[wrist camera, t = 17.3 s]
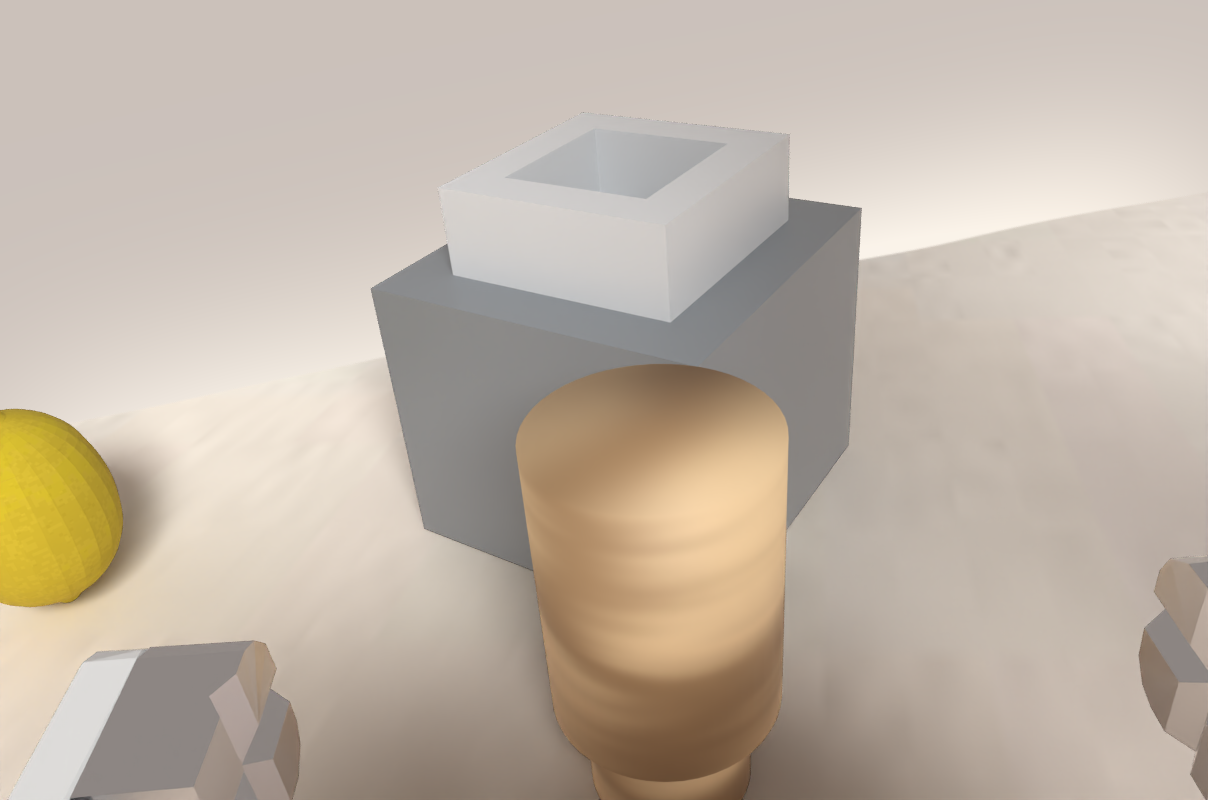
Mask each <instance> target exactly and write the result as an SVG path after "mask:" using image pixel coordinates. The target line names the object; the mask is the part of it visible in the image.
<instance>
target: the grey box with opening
mask: <svg viewBox="0 0 1208 800" xmlns="http://www.w3.org/2000/svg"><path fill="white" fill-rule="evenodd" d="M789 139H790V135H789V134H782V133H772V132H763V131H754V130H744V129H734V128H725V127H716V126H707V125H697V124H687V123H678V122H669V121H659V120H650V119H641V118H631V117H622V116H613V115H603V114H593V113H584V112H583V113H581V114H579V115H577V116H575V117H573V118H571V119H569V120H567V121H565V122H563V123H562V124H559V125H557V126H556V127H554V128H552V129H550V130H548V131H546V132H544V133H542V134H540V135H538V136H536V137H534V138H532V139H531V140H529V141H527V142H525V143H523V144H521V145H519V146H517V147H515V148H513V149H511V150H509V151H507V152H505V153H504V154H502V155H500V156H498V157H496V158H494V159H492V160H490V161H488V162H486V163H484V164H482V165H481V166H478V167H477V168H475V169H473V170H471V171H469V172H467V173H465V174H463V175H461V176H459V177H457V178H455V179H453V180H452V181H450V182H448V183H446V184H444V185H442V186H440V187H438V192H439V198H440V204H441V210H442V215H443V220H444V226H445V232H446V238H447V244H446V245H444V246H443V247H441V248H440V249H438V250H436V251H434V252H432V253H431V254H429V255H427V256H426V257H424V258H422V259H421V260H419V261H417V262H415V263H414V264H412V265H410V266H408V267H407V268H405V269H403V270H402V271H400V272H398V273H396V274H395V275H393V276H391V277H390V278H388V279H386V280H385V281H383V282H381V283H379V284H378V285H376V286H374V287H372V288H371V292H372V297H373V301H374V306H375V310H376V314H377V319H378V324H379V328H380V332H381V337H382V341H383V346H384V350H385V355H386V359H387V364H388V368H389V373H390V377H391V382H392V386H393V390H394V395H395V399H396V404H397V408H398V413H399V417H400V422H401V426H402V431H403V435H404V440H405V444H406V448H407V453H408V457H409V462H410V466H411V471H412V475H413V480H414V484H415V489H416V493H417V498H418V502H419V506H420V511H421V515H422V520H423V524H424V529H427V530H430V531H432V532H435V533H437V534H440V535H442V536H445V537H448V538H450V539H453V540H455V541H458V542H461V543H463V544H466V545H468V546H471V547H473V548H476V549H479V550H481V551H484V552H486V553H489V554H492V555H494V556H497V557H499V558H502V559H504V560H507V561H510V562H512V563H515V564H517V565H520V566H522V567H525V568H528V569H530V570H533V564H532V558H531V551H530V544H529V537H528V530H527V523H526V516H525V510H524V503H523V496H522V489H521V482H520V475H519V469H518V462H517V455H516V447H515V445H516V436H517V433H518V430H519V427H520V425H521V424H522V422H523V420H524V418H525V417H526V416H527V414H528V413H529V412H530V411H531V409H532V408H533V407H534V406H535V405H537V404H538V403H539V402H540V401H541V400H542V399H543V398H545V397H546V396H548V395H549V394H550V393H552V392H553V391H555V390H557V389H559V388H560V387H562V386H564V385H566V384H568V383H571V382H573V381H575V380H577V379H580V378H583V377H585V376H588V375H591V374H594V373H598V372H602V371H605V370H610V369H615V368H620V367H626V366H634V365H645V364H679V365H689V366H697V367H703V368H707V369H712V370H716V371H720V372H723V373H727V374H730V375H732V376H735V377H737V378H740V379H742V380H744V381H746V382H748V383H750V384H752V385H754V386H755V387H757V388H758V389H760V390H761V391H763V392H764V393H766V394H767V395H768V396H769V397H770V398H771V399H772V400H773V401H774V402H775V403H776V404H777V406H778V407H779V408H780V409H781V411H782V413H783V415H784V417H785V419H786V422H787V426H788V436H789V441H788V480H787V520H786V530H787V529H788V527H789V526H790V525H791V523H792V522H793V520H794V519H795V518H796V516H797V515H798V514H799V512H800V511H801V509H802V508H803V507H804V505H805V504H806V503H807V501H808V500H809V498H810V497H811V496H812V494H813V493H814V492H815V490H816V489H817V487H818V486H819V485H820V483H821V482H822V481H823V479H824V478H825V476H826V475H827V474H828V472H829V471H830V470H831V468H832V467H833V465H834V464H835V463H836V461H837V460H838V459H839V457H840V456H841V454H842V453H843V452H844V450H845V449H846V448H847V446H848V445H849V427H850V409H851V391H852V373H853V355H854V337H855V319H856V301H857V283H858V265H859V247H860V229H861V211H862V210H861V209H862V208H857V207H850V206H843V205H835V204H828V203H821V202H814V201H807V200H800V199H793V198H789V141H790V140H789Z"/></svg>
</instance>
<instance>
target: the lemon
mask: <svg viewBox="0 0 1208 800" xmlns="http://www.w3.org/2000/svg"><path fill="white" fill-rule="evenodd" d="M122 528H123V514H122V508H121V503H120V498H119V494H118V491H117V487H116V484H115V482H114V479H113V477H112V475H111V473H110V471H109V469H108V467H107V465H106V464H105V462H104V461H103V459H102V458H101V456H100V455H99V454H98V452H97V451H96V450H95V449H94V447H93V446H92V445H91V444H90V443H89V442H88V441H87V440H86V439H85V438H84V437H83V436H82V435H81V434H80V433H79V432H78V431H77V430H76V429H75V428H74V427H72V426H71V425H70V424H68V423H66V422H65V421H63V420H61V419H58V418H56V417H53V416H51V415H48V414H46V413H42V412H37V411H33V410H25V409H6V410H0V603H3V604H7V605H11V606H24V607H37V606H45V605H50V604H54V603H58V602H62V603H68V602H71V601H73V600H75V599H76V598H78V596H79V595H80V593H81V592H83V591H84V590H85V589H87V588H88V587H89V586H91V585H92V584H93V583H94V582H96V581H97V580H98V579H99V578H100V577H101V576H102V574H103V573H104V572H105V571H106V569H107V568H108V567H109V565H110V563H111V562H112V560H113V558H114V557H115V554H116V552H117V550H118V546H119V542H120V538H121V534H122Z"/></svg>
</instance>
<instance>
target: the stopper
mask: <svg viewBox="0 0 1208 800" xmlns="http://www.w3.org/2000/svg"><path fill="white" fill-rule="evenodd" d="M788 441H789V436H788V426H787V422H786V419H785V417H784V415H783V413H782V411H781V409H780V408H779V407H778V406H777V404H776V403H775V402H774V401H773V400H772V399H771V398H770V397H769V396H768V395H767V394H766V393H764V392H763V391H761V390H760V389H758V388H757V387H755V386H754V385H752V384H750V383H748V382H746V381H744V380H742V379H740V378H737V377H735V376H732V375H730V374H727V373H723V372H720V371H716V370H712V369H707V368H703V367H697V366H689V365H679V364H645V365H634V366H626V367H620V368H615V369H610V370H605V371H602V372H598V373H594V374H591V375H588V376H585V377H583V378H580V379H577V380H575V381H573V382H571V383H568V384H566V385H564V386H562V387H560V388H559V389H557V390H555V391H553V392H552V393H550V394H549V395H548V396H546V397H545V398H543V399H542V400H541V401H540V402H539V403H538V404H537V405H535V406H534V407H533V408H532V409H531V411H530V412H529V413H528V414H527V416H526V417H525V418H524V420H523V422H522V424H521V425H520V427H519V430H518V433H517V436H516V445H515V447H516V455H517V462H518V469H519V475H520V482H521V489H522V496H523V503H524V510H525V516H526V523H527V530H528V537H529V544H530V551H531V558H532V564H533V571H534V578H535V585H536V592H537V599H538V605H539V612H540V619H541V626H542V633H543V640H544V646H545V653H546V660H547V667H548V674H549V681H550V687H551V694H552V701H553V708H554V712H555V715H556V719H557V721H558V723H559V725H560V727H561V729H562V731H563V733H564V734H565V736H566V737H567V739H568V740H569V741H570V743H571V744H572V745H573V746H574V747H575V748H576V749H577V750H578V751H579V752H580V753H582V754H583V755H584V756H585V757H587V758H588V759H589V760H591V767H592V775H593V781H594V785H595V788H596V791H597V793H598V795H599V797H600V799H601V800H742V799H743V797H744V795H745V793H746V790H747V787H748V784H749V780H750V753H752V752H753V751H754V750H755V749H756V748H757V747H758V746H759V745H760V744H761V743H762V742H763V741H764V739H765V738H766V736H767V735H768V734H769V732H770V731H771V729H772V727H773V725H774V723H775V721H776V719H777V717H778V713H779V710H780V707H781V699H782V676H783V637H784V598H785V559H786V520H787V480H788Z"/></svg>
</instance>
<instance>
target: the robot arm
mask: <svg viewBox="0 0 1208 800" xmlns="http://www.w3.org/2000/svg"><path fill="white" fill-rule="evenodd" d="M1154 592H1155V594H1156V595H1157V597H1158V598H1159V600H1160V601H1161V603H1162V604H1163V606H1164V607H1165V610H1164V611H1163V612H1161V613H1160V614H1159V615H1158V616H1157V617H1156V618H1155V619H1154V620H1153V621H1151V622H1150V623H1149V624H1148V625H1147V626H1146V627H1145V628H1144V632H1143V637H1142V642H1141V647H1140V651H1139V661H1140V669H1141V677H1142V685H1143V688H1144V690H1145V693H1146V696H1147V698H1148V701H1149V704H1150V707H1151V709H1152V710H1153V712H1154V714H1155V716H1156V717H1157V719H1158V721H1159V723H1160V724H1161V726H1162V728H1163V730H1164V731H1165V732H1166V733H1168V734H1169V735H1171V736H1172V737H1174V738H1175V739H1177V740H1178V741H1180V742H1181V743H1183V744H1185V745H1186V746H1188V747H1189V748H1191V749H1192V750H1194V751H1195V756H1194V760H1193V765H1192V769H1191V774H1190V775H1191V776H1192V778H1193V780H1194V781H1195V783H1196V785H1197V786H1198V788H1199V790H1200V791H1201V793H1202V795H1203V796H1204V798H1205V799H1206V800H1208V555H1201V556H1191V557H1181V558H1171V559H1169V561H1168V562H1167V563H1166V564H1165V565H1164V566H1163V567H1162V569H1161V570H1160V572H1159V575H1158V579H1157V582H1156V586H1155V589H1154ZM276 669H277V668H276V666H275V664H274V662H273V659H272V657H271V655H270V653H269V651H268V648H267V646H266V644H265V643H261V642H258V641H241V642H225V643H209V644H194V645H178V646H163V647H150V648H149V649H134V650H117V651H101V652H96V653H95V654H93V655H92V656H91V657H90V658H88V659H87V660H86V661H84V662H83V663H82V664H81V666H80V668H79V669H78V671H77V673H76V675H75V677H74V678H73V680H72V682H71V684H70V686H69V688H68V689H67V691H66V693H65V695H64V697H63V699H62V700H61V702H60V704H59V706H58V708H57V710H56V711H55V713H54V715H53V717H52V719H51V720H50V722H49V724H48V726H47V728H46V730H45V731H44V733H43V735H42V737H41V739H40V741H39V742H38V744H37V746H36V748H35V750H34V752H33V753H32V755H31V757H30V759H29V761H28V763H27V764H26V766H25V768H24V770H23V772H22V773H21V775H20V777H19V779H18V781H17V783H16V784H15V786H14V788H13V790H12V792H11V794H10V795H9V797H8V799H7V800H293V796H294V792H295V788H296V784H297V780H298V776H299V759H300V739H299V732H298V726H297V720H296V718H295V715H294V712H293V709H292V707H291V704H290V702H289V701H288V700H286V699H285V698H283V697H282V696H280V695H279V694H277V693H276V692H274V691H273V690H271V689H270V688H271V685H272V682H273V678H274V675H275V672H276Z"/></svg>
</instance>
